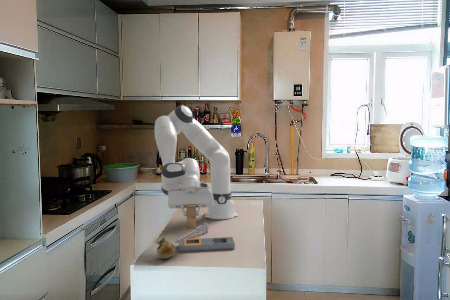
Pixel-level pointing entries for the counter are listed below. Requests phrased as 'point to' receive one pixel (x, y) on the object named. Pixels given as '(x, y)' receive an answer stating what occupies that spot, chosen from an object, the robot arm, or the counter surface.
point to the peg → (191, 217)
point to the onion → (165, 249)
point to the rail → (206, 244)
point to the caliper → (195, 231)
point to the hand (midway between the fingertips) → (191, 215)
